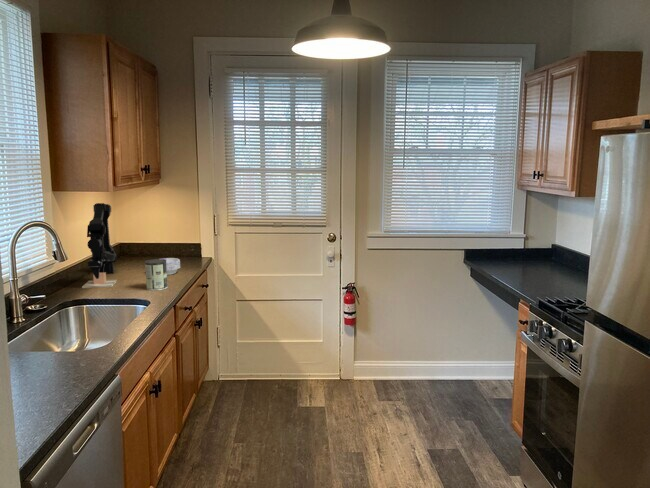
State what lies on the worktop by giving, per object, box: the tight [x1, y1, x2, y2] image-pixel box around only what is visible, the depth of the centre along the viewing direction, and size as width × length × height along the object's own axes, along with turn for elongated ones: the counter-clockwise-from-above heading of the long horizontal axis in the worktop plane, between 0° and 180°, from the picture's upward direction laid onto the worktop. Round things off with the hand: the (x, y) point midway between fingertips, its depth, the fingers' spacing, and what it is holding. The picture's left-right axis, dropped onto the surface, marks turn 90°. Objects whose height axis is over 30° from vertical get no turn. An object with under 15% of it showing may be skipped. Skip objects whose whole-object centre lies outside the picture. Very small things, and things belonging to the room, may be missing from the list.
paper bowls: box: [162, 257, 181, 276], centre depth 294 cm, size 15×15×8 cm
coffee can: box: [144, 258, 168, 292], centre depth 260 cm, size 10×10×14 cm
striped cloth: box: [81, 278, 118, 289], centre depth 269 cm, size 14×14×1 cm
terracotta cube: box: [92, 272, 107, 284], centre depth 268 cm, size 5×5×5 cm
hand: (99, 276), depth 268 cm, fingers open, 9 cm apart
